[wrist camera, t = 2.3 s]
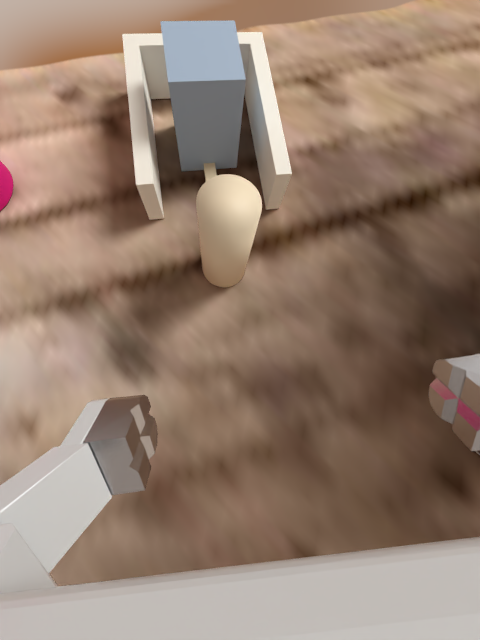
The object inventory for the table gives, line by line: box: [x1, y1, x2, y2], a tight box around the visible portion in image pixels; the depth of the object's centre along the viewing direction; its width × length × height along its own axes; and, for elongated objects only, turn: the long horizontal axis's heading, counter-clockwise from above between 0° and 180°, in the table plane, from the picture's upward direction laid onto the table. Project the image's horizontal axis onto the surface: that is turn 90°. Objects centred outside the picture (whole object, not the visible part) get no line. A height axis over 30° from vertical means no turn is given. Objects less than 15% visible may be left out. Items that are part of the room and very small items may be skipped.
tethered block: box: [161, 21, 262, 287], centre depth 22 cm, size 16×5×9 cm, turn 9°
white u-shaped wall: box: [123, 32, 292, 220], centre depth 25 cm, size 14×11×4 cm
